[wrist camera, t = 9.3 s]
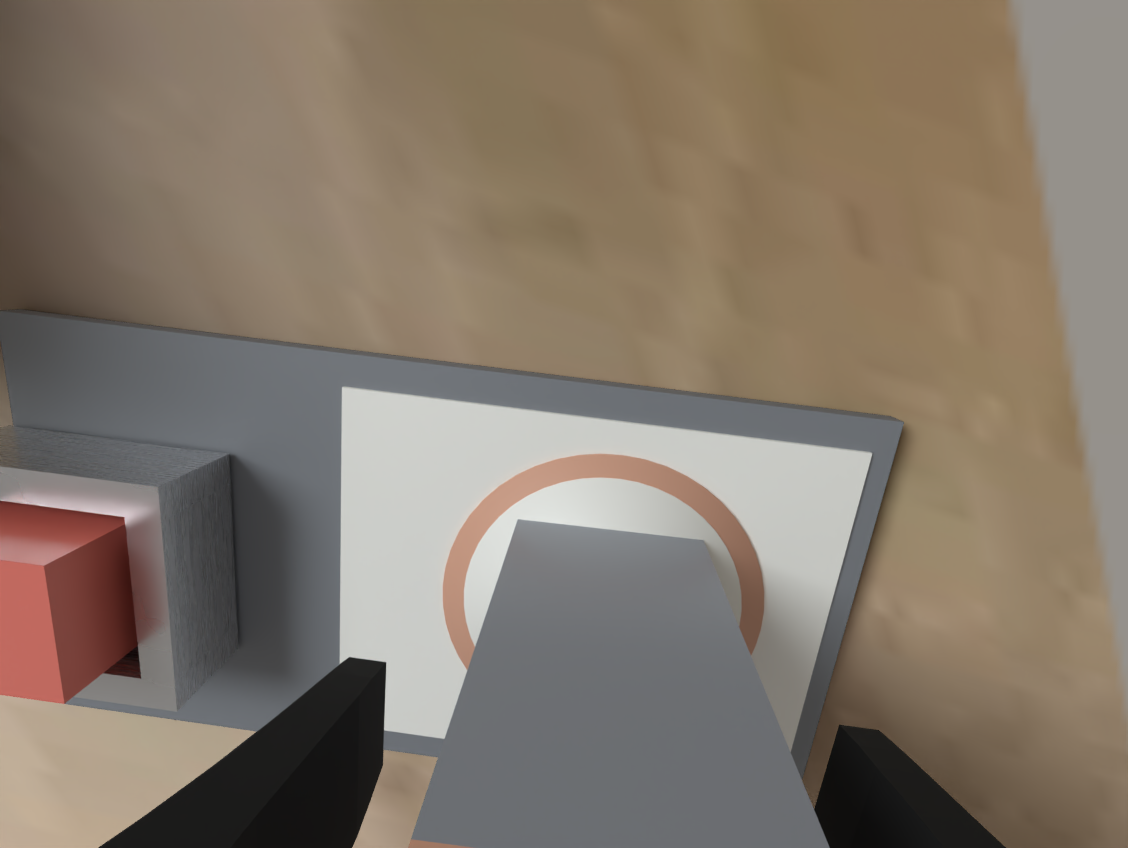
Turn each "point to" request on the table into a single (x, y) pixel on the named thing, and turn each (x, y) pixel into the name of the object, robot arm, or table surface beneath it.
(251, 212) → the table surface
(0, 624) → the button
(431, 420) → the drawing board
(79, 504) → the button frame
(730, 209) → the table surface
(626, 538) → the block
